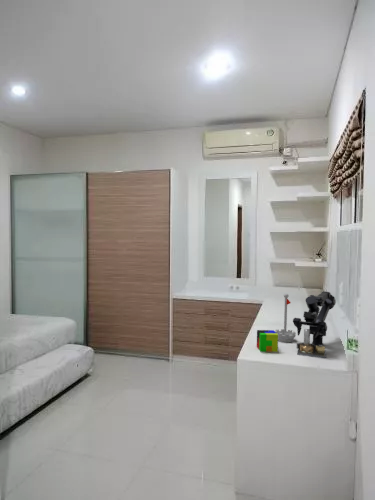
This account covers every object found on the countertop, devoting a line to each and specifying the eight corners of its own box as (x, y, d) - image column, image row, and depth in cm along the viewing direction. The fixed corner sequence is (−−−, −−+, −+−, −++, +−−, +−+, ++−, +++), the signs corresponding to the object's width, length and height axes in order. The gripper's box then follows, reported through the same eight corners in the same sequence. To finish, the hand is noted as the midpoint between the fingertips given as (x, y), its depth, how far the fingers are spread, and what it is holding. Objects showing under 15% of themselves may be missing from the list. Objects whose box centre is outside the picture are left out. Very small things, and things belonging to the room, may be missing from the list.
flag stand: (270, 337, 246) (271, 292, 245) (287, 336, 250) (288, 291, 249) (282, 343, 234) (283, 295, 232) (299, 341, 238) (301, 294, 237)
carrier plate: (297, 348, 224) (297, 339, 223) (326, 352, 218) (326, 342, 217) (294, 354, 213) (295, 344, 212) (325, 358, 206) (325, 348, 206)
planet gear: (299, 347, 221) (300, 327, 220) (312, 349, 219) (313, 328, 218) (300, 351, 213) (300, 330, 213) (313, 353, 211) (314, 331, 211)
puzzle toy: (273, 346, 227) (273, 330, 226) (277, 351, 217) (278, 334, 216) (256, 346, 226) (257, 330, 226) (260, 351, 216) (260, 334, 216)
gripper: (294, 304, 224) (286, 326, 215) (326, 308, 213) (320, 331, 204) (298, 315, 230) (291, 336, 222) (330, 319, 219) (323, 342, 211)
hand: (306, 336), depth 214 cm, fingers open, 9 cm apart
